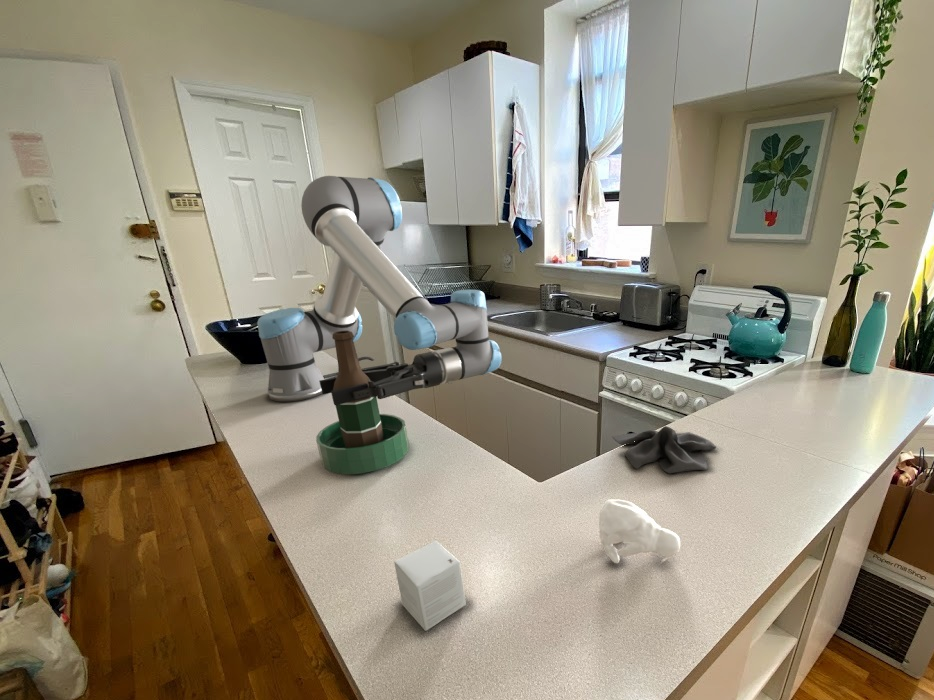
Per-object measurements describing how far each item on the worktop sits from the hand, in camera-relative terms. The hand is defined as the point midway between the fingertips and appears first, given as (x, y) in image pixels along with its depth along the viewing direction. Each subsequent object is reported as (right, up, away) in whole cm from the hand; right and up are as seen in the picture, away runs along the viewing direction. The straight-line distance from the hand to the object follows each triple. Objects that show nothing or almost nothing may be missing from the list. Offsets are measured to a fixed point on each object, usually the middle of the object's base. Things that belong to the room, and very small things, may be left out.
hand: (327, 392), depth 89 cm
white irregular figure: (+56, -25, -21) cm, 65 cm away
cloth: (+66, -12, +9) cm, 68 cm away
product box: (+28, -29, -29) cm, 50 cm away
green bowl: (+4, -13, +9) cm, 16 cm away
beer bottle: (+4, -11, +8) cm, 14 cm away
